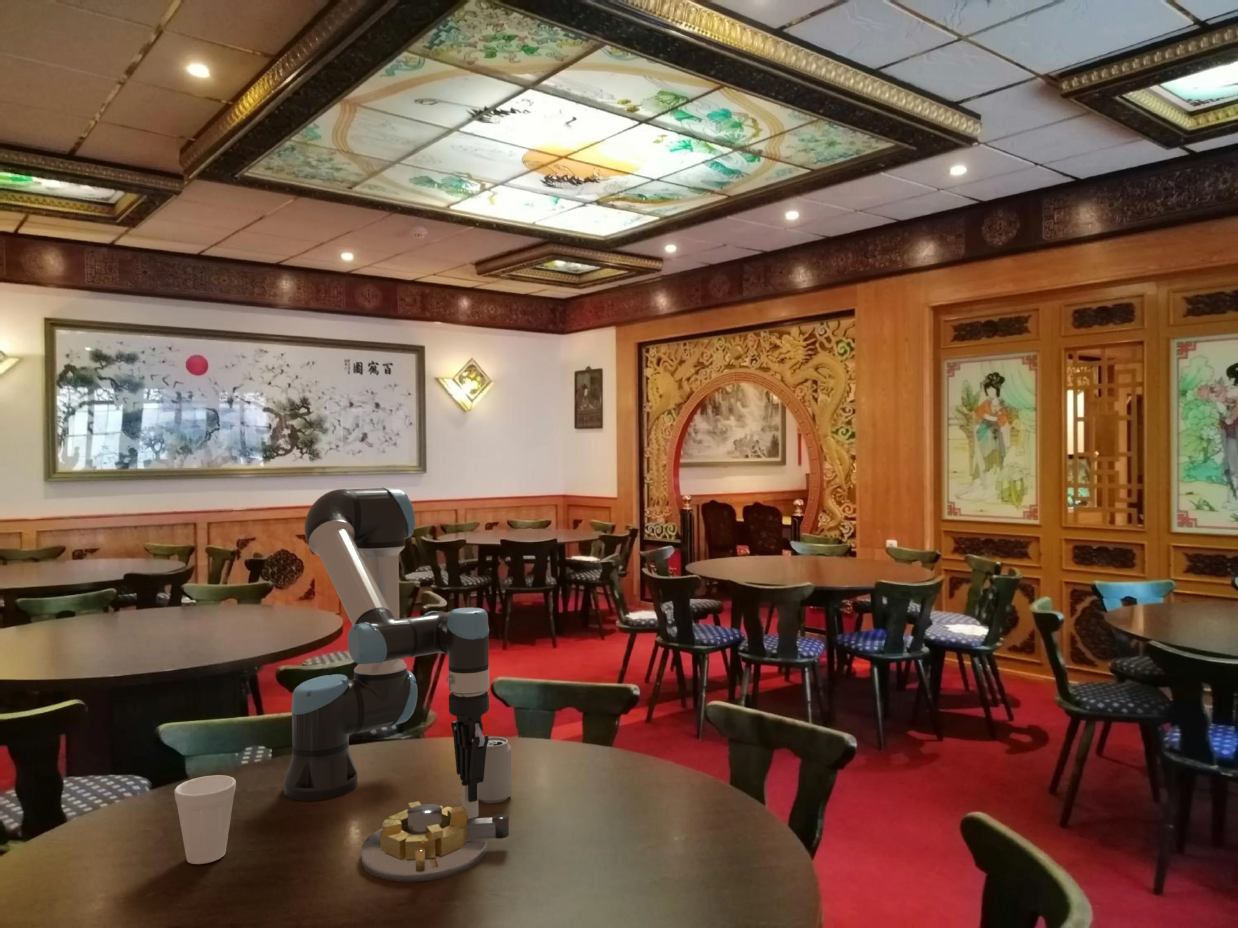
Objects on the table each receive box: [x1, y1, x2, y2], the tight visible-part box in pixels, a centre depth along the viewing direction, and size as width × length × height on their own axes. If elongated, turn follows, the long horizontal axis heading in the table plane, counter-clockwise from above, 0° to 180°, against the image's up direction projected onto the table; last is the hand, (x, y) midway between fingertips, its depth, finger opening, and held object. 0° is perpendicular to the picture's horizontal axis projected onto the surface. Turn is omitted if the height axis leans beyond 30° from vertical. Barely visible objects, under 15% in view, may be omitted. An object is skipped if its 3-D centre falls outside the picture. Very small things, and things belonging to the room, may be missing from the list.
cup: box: [173, 774, 237, 865], centre depth 153 cm, size 10×10×13 cm
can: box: [478, 736, 513, 804], centre depth 180 cm, size 8×8×12 cm
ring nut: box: [379, 800, 510, 859], centre depth 155 cm, size 22×15×4 cm, turn 97°
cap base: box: [361, 803, 488, 883], centre depth 155 cm, size 22×22×8 cm
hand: (470, 816), depth 162 cm, fingers closed
